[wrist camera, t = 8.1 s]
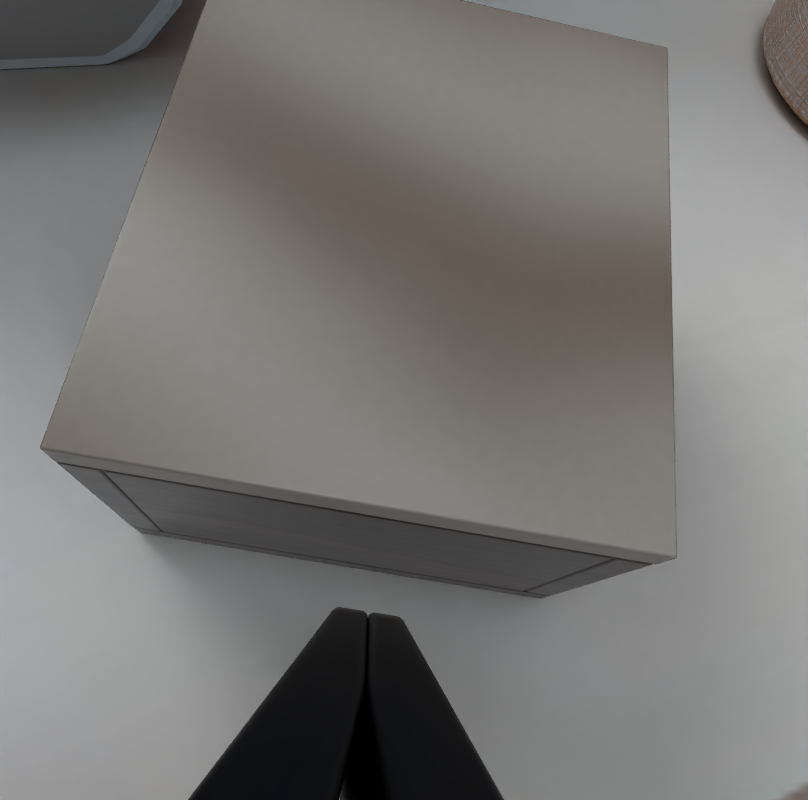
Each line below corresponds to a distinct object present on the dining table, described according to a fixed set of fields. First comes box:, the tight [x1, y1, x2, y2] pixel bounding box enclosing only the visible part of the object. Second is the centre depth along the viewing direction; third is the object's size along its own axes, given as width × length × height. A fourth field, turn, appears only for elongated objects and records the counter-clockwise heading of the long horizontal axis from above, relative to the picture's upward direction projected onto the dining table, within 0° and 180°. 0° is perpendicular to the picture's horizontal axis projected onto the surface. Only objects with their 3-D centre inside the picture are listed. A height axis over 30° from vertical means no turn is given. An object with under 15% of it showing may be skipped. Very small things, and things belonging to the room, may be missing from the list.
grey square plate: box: [40, 0, 677, 564], centre depth 15 cm, size 13×12×1 cm
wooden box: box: [57, 462, 653, 598], centre depth 18 cm, size 13×12×7 cm
